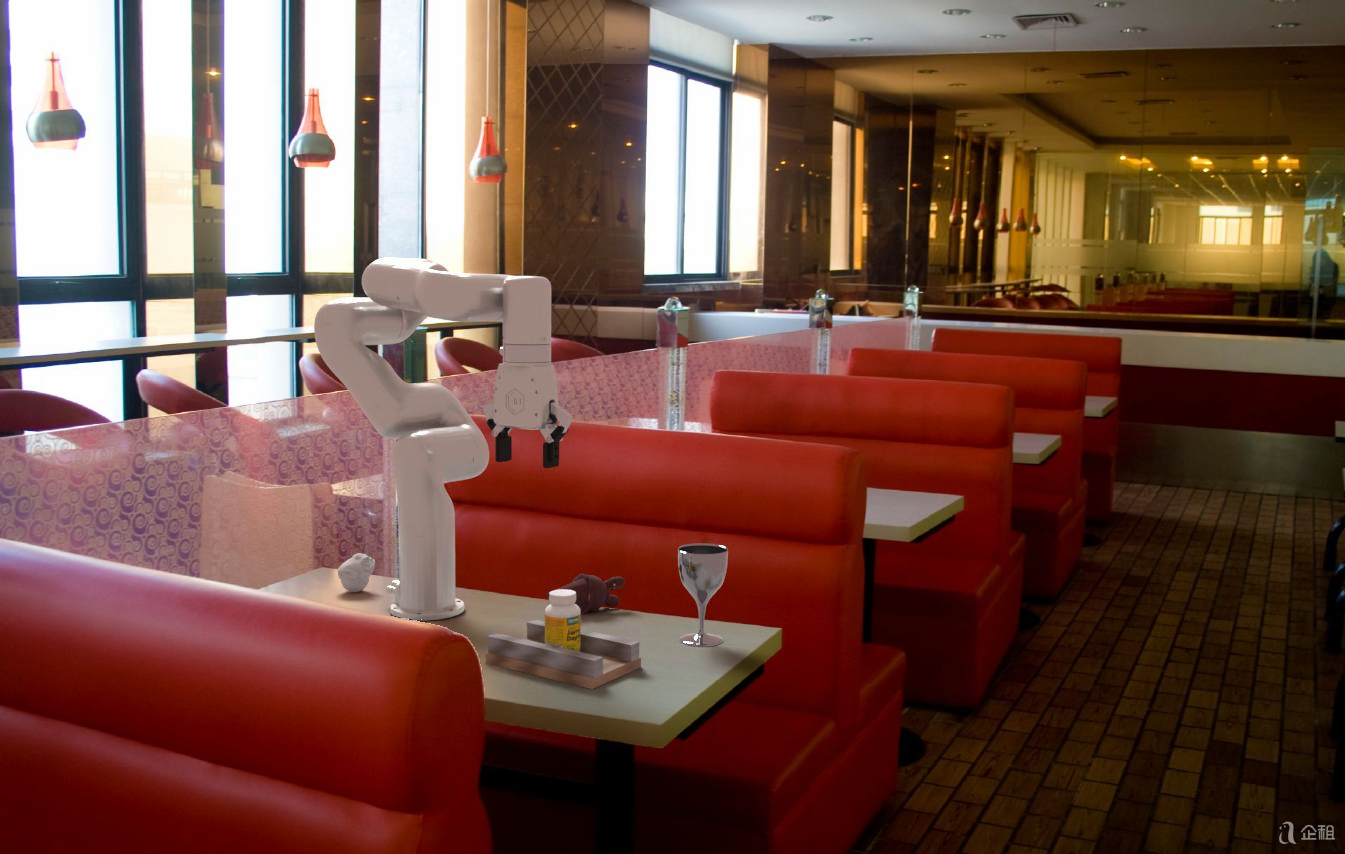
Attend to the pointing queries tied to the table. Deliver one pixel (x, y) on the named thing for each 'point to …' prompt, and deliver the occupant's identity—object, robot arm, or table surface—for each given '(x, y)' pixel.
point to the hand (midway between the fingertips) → (526, 464)
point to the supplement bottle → (563, 620)
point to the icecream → (594, 592)
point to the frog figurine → (356, 572)
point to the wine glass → (702, 583)
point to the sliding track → (565, 676)
